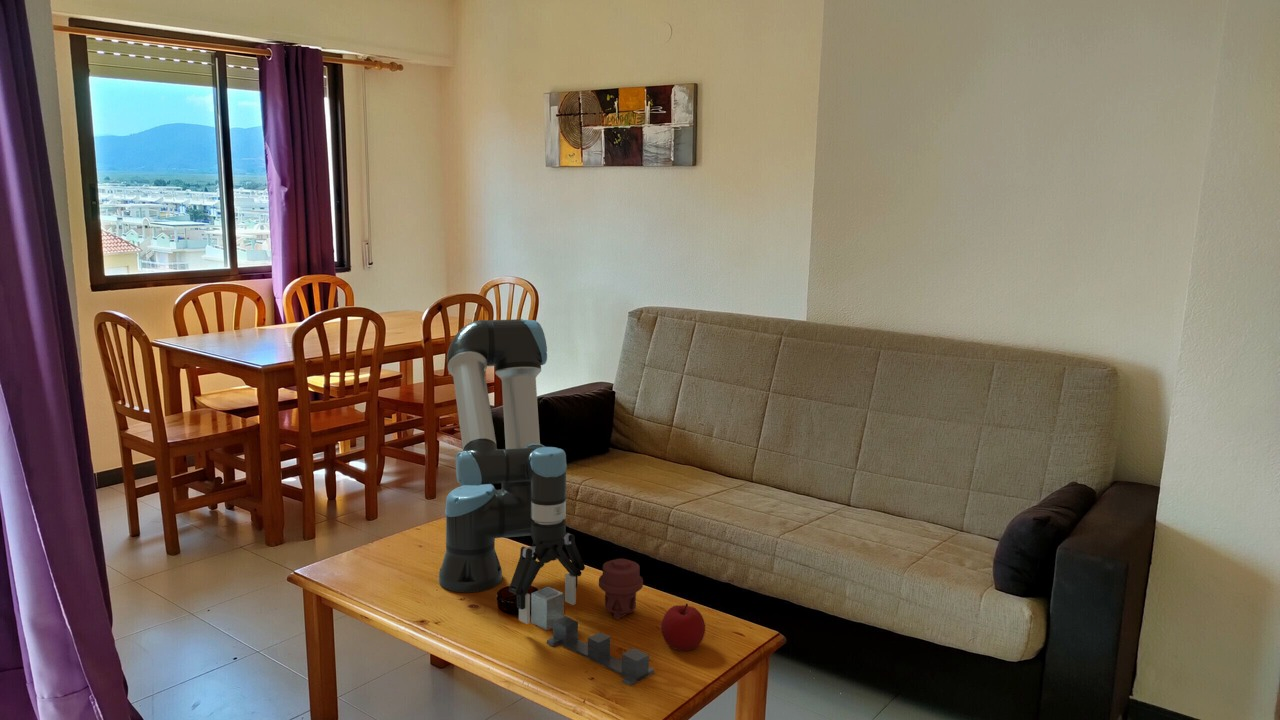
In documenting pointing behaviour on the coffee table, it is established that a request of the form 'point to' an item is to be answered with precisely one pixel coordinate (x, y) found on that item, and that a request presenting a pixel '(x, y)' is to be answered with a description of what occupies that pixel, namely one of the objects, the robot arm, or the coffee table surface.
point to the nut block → (546, 607)
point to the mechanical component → (620, 586)
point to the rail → (601, 651)
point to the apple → (683, 627)
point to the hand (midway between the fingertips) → (547, 612)
